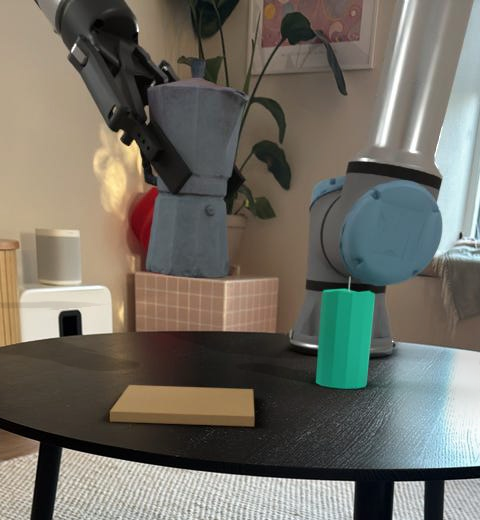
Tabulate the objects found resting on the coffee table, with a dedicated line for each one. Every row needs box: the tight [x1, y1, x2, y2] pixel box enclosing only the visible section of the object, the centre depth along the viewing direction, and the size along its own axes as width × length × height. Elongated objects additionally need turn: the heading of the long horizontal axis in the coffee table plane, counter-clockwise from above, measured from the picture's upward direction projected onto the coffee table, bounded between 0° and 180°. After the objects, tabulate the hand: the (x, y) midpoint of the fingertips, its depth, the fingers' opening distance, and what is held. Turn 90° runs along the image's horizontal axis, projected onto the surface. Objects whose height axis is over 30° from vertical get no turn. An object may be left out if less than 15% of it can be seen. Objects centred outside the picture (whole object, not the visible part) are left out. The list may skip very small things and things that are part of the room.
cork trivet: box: [109, 384, 255, 428], centre depth 73 cm, size 13×12×1 cm
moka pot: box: [138, 58, 250, 279], centre depth 77 cm, size 10×15×20 cm, turn 55°
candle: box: [315, 277, 375, 390], centre depth 86 cm, size 6×6×12 cm
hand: (210, 186), depth 76 cm, fingers closed on moka pot, 8 cm apart
